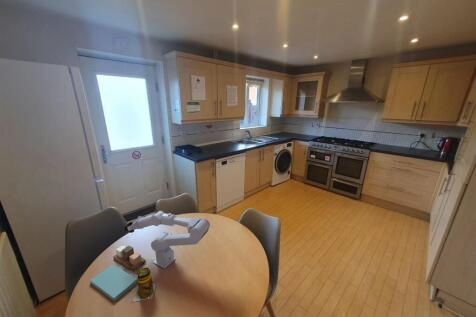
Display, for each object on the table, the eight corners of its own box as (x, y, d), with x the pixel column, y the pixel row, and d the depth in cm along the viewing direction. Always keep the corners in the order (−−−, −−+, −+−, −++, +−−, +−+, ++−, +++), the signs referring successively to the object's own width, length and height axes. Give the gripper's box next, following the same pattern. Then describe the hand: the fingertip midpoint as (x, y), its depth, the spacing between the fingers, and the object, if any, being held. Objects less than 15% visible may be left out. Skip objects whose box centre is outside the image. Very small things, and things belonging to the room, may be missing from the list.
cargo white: (128, 253, 109) (127, 247, 108) (121, 257, 106) (120, 251, 105) (123, 250, 111) (122, 245, 110) (116, 255, 108) (115, 249, 107)
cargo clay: (141, 260, 104) (140, 254, 103) (134, 265, 100) (133, 259, 99) (137, 258, 106) (136, 252, 105) (130, 262, 102) (129, 256, 101)
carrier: (145, 262, 105) (143, 250, 103) (133, 271, 99) (131, 258, 97) (125, 251, 113) (123, 240, 111) (113, 259, 107) (111, 247, 105)
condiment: (152, 298, 85) (149, 276, 82) (132, 302, 83) (128, 280, 80) (155, 284, 92) (153, 263, 89) (137, 287, 90) (133, 267, 87)
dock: (137, 282, 93) (137, 279, 92) (114, 301, 83) (113, 298, 83) (113, 267, 101) (113, 264, 101) (90, 283, 92) (89, 280, 92)
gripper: (155, 210, 110) (140, 215, 116) (133, 219, 97) (117, 224, 102) (158, 221, 110) (143, 226, 115) (137, 232, 97) (121, 237, 102)
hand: (131, 226), depth 109 cm, fingers open, 7 cm apart
